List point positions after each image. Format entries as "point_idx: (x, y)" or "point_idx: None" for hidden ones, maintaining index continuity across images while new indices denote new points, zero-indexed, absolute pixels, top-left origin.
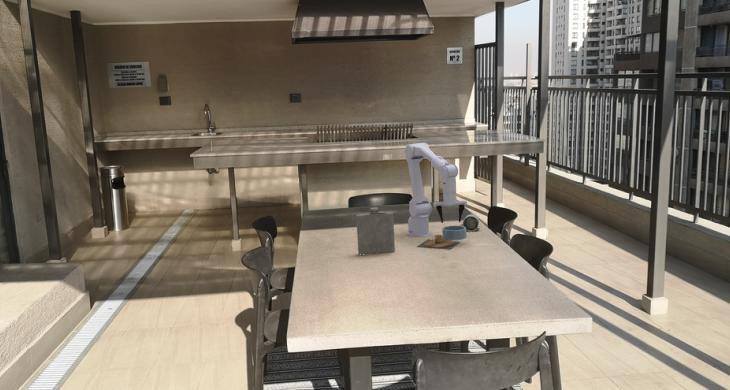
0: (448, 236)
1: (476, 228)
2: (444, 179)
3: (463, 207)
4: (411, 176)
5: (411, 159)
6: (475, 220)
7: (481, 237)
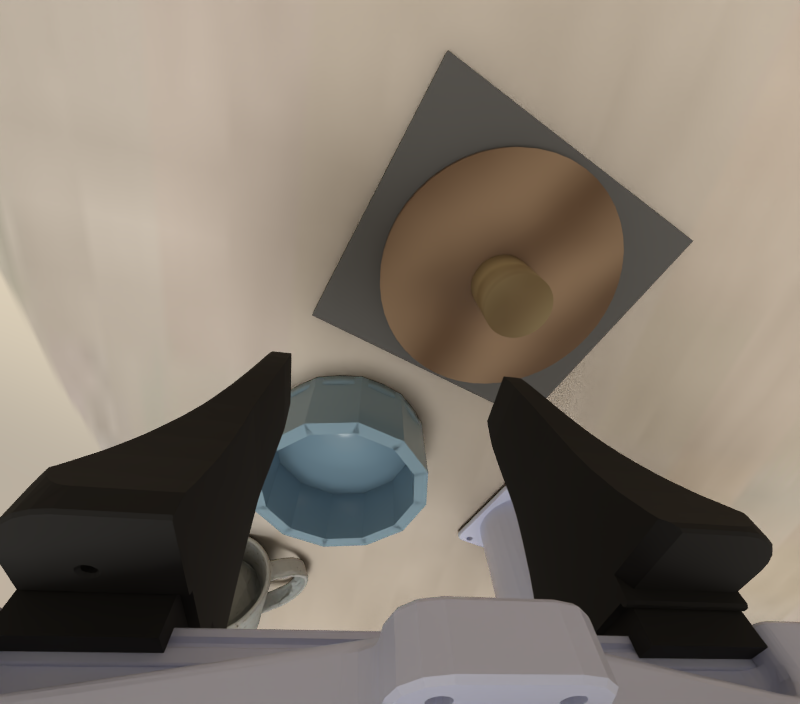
0: (394, 407)
1: None
2: None
3: (23, 503)
4: None
5: None
6: None
7: (160, 412)
